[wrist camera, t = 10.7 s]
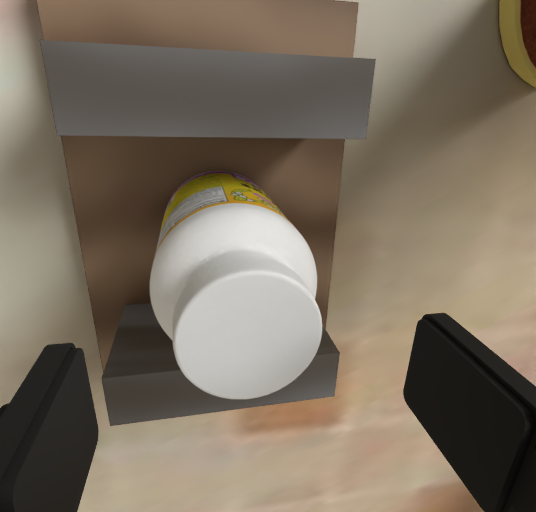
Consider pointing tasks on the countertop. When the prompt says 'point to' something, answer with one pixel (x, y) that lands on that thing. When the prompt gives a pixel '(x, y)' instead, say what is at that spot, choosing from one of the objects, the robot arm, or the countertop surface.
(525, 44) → the decorative book
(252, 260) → the supplement bottle
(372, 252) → the countertop surface
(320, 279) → the stand
